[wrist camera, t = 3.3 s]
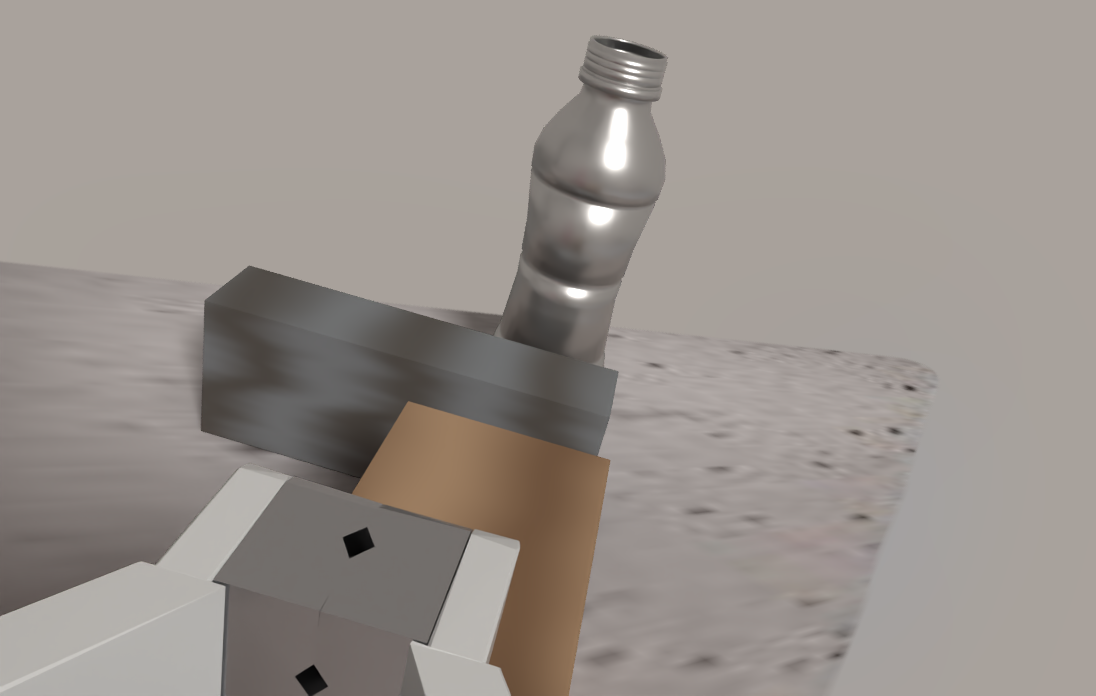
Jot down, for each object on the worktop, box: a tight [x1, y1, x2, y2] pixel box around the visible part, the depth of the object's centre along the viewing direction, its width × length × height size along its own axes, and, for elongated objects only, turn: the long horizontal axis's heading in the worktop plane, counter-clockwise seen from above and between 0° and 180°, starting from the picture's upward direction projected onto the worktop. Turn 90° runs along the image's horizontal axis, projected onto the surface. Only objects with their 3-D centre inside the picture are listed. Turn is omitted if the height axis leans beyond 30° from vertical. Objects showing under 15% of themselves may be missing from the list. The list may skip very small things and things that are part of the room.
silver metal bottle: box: [493, 36, 668, 367], centre depth 42 cm, size 6×7×20 cm
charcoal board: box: [201, 266, 618, 478], centre depth 39 cm, size 18×4×7 cm, turn 80°
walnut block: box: [352, 401, 610, 696], centre depth 25 cm, size 7×12×10 cm, turn 170°
